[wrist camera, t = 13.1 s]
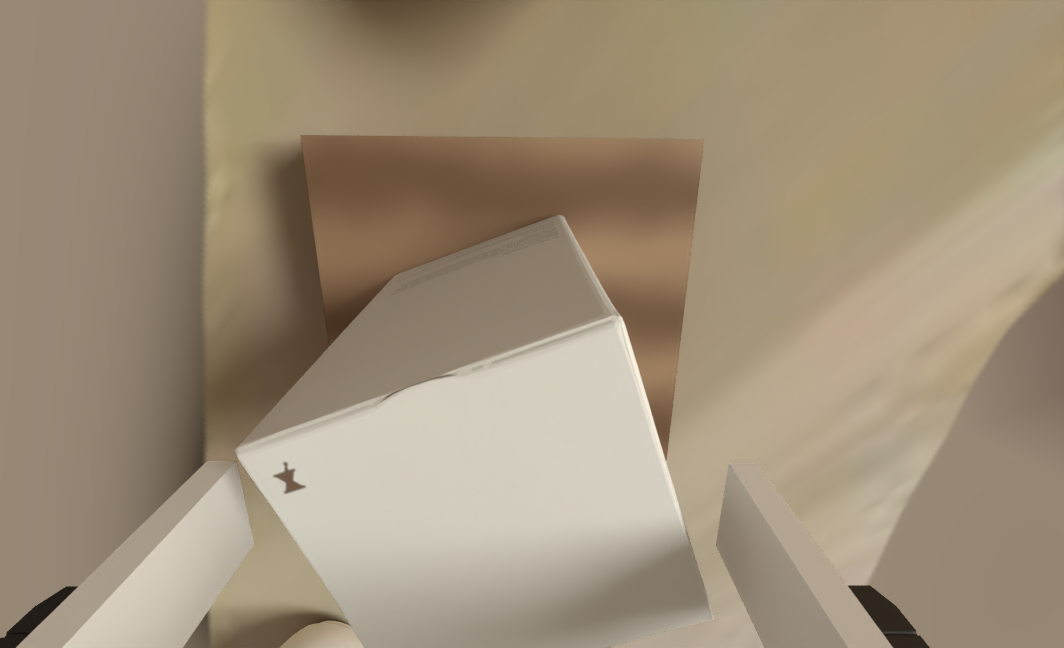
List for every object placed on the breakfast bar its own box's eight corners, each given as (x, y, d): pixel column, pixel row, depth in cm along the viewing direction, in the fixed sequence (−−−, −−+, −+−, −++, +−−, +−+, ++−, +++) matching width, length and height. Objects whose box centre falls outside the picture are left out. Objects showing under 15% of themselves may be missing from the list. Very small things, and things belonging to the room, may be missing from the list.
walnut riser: (648, 437, 33) (664, 476, 29) (367, 436, 32) (346, 475, 29) (679, 139, 27) (704, 139, 23) (332, 135, 26) (300, 135, 23)
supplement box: (461, 424, 28) (393, 719, 14) (390, 273, 25) (209, 450, 11) (621, 372, 27) (726, 632, 13) (567, 209, 24) (624, 310, 10)
